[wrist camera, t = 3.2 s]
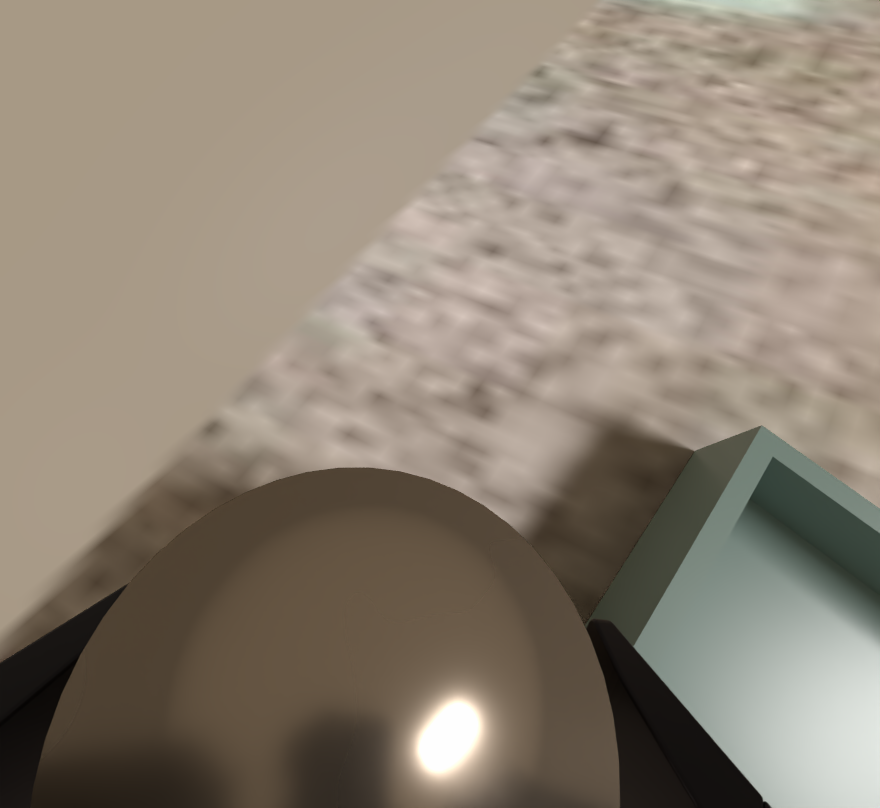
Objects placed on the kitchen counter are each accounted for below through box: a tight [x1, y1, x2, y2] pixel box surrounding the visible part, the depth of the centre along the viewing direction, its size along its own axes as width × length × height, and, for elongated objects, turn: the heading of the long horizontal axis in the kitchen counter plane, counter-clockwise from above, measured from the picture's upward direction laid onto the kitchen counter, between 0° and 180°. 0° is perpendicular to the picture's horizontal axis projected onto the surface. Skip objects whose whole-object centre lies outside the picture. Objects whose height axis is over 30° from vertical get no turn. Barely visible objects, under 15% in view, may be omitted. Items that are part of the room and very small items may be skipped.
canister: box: [30, 468, 620, 808], centre depth 10 cm, size 5×5×13 cm
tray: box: [585, 426, 880, 808], centre depth 13 cm, size 16×16×4 cm
